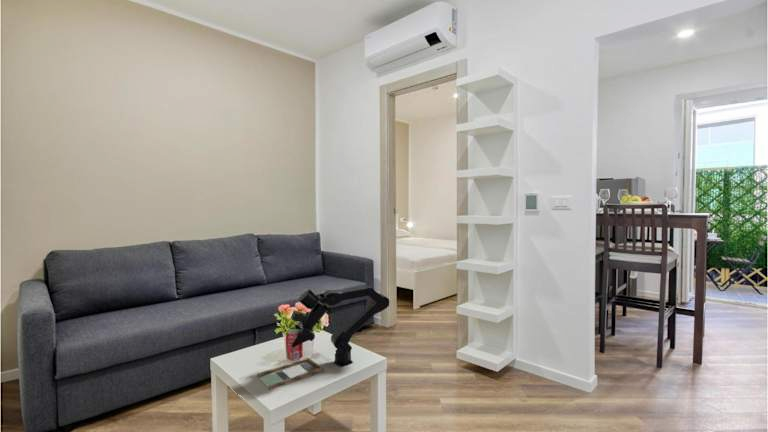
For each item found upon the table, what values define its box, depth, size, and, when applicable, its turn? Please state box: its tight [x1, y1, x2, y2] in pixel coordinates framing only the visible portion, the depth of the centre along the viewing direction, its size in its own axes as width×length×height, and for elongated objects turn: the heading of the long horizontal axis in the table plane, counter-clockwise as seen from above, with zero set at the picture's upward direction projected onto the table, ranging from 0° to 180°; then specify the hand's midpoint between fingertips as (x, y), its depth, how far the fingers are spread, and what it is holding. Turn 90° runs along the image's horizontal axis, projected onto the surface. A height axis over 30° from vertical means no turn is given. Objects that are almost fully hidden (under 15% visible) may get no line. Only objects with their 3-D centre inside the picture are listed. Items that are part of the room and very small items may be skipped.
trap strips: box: [274, 362, 317, 380], centre depth 159 cm, size 16×10×1 cm, turn 129°
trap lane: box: [256, 357, 324, 390], centre depth 157 cm, size 24×14×1 cm, turn 129°
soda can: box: [285, 328, 304, 362], centre depth 158 cm, size 7×7×12 cm
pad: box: [258, 372, 284, 388], centre depth 152 cm, size 7×10×1 cm
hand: (290, 343), depth 158 cm, fingers closed on soda can, 6 cm apart
